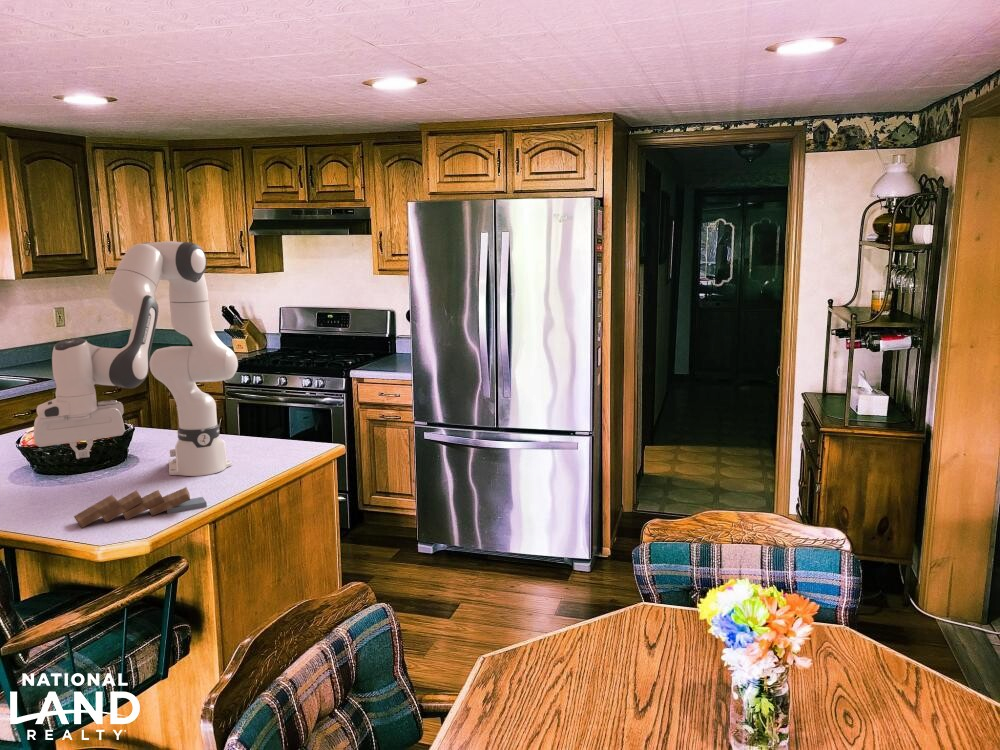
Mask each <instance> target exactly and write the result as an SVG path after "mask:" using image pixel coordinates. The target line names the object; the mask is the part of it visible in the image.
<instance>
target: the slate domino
mask: <svg viewBox="0 0 1000 750" xmlns="http://www.w3.org/2000/svg"><path fill="white" fill-rule="evenodd" d="M207 506H208V503H207V501H206V500H205V498H204V497H203V496H201V497H195V498H190V500H189V501H187V502H184V503H182V504H179V505H177V506H175V507H172V508H170V509H168V510H165V511H164V512H166V514H173V513H179V512H184V511H190V510H196V509H201V508H202V509H203V508H207Z"/></svg>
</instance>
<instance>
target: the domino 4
mask: <svg viewBox="0 0 1000 750" xmlns="http://www.w3.org/2000/svg"><path fill="white" fill-rule="evenodd" d="M190 496H191V495H190V492H189V490H188V488H187V486H185V487H183V488H181V489H179V490H176V491H173V492H171V493H169V494H167V495H164V496H162V498H163V500H164V502H162V503H160V504H158V505H156V506H154V507H152V508H150V509H148V511H149V512H150V514H151V515H150V516H152V517H153V516H156V515H159V514H161V513H162V512H166V511H165V510H168V509H170V508H172V507H175V506H177V505H179V504H182V503H184V502H187V501H189V500H190V499H191V497H190Z"/></svg>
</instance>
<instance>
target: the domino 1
mask: <svg viewBox="0 0 1000 750" xmlns="http://www.w3.org/2000/svg"><path fill="white" fill-rule="evenodd" d="M119 506H120V505H119V503H118V500H117V499H116V498H115V496H114V495H113V494H111V495H109V496H107V497H105V498H103V499H102V500H100V501H98V502H95V504H93V505H91V506H89V507H87V508H86V509H84V510H83V511H81V512H79V513H77V514H75V515H74V516H73V518H74V520H75V521H76V522H77V524H78V525H79V527H80V528H81V529H82V528H84V527H86V526H89V524H91V523H93V522H95V521H96V520H97V521H98V520H99V519H100V518H102V516H104V515H105V514H107V513H109V512H110V511H112V510H114V509H116V508H117V507H119Z"/></svg>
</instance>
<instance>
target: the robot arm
mask: <svg viewBox="0 0 1000 750" xmlns="http://www.w3.org/2000/svg"><path fill="white" fill-rule="evenodd" d="M207 260H208V259H207V256H206V253H205V251H204V250H203V249H202V247H201V246H200V245H199V244H197V243H194V242H189V241H185V242H184V241H183V242H182V241H175V240H165V241H157V242H156V241H155V242H148V241H147V242H143V243H142V242H141V243H135V244H134V245H131V246H130V247H129V249H128V250H127V251H126V252H125V254H124V255H123V256H122V258H121V260H120V262H119V263H118V265H117V267H116V269H115V270H114V274H113V276H112V277H111V279H110V283H109V286H108V294H109V297H110V299H111V301H112V302H113V303H114V305H115V306H116V307H117V308H119V309H120V310H122V312H124V313H126V314H128V315H130V316H132V318H133V321H132V326H131V329H130V334H129V338H128V342H127V344H126V345H125V346H123V347H122V348H112V347H103V346H101V347H100V346H97V345H94V344H91V343H90V342H88V341H87V340H86V339H85V338H81V337H76V338H75V337H74V338H67V339H64V340H61V341H59V342H57V343H56V344H54V346H53V350H52V354H51V355H52V356H51V363H52V364H51V365H52V366H51V367H52V374H53V375H52V376H53V377H52V378H53V379H54V381H55V384H56V385H55V386H56V388H55V398H54V399H50V400H48V401H46V402H44V403H43V402H42V403H40V404H38V405H37V407H36V414H37V416H36V417H35V420H34V423H33V441H34V444H35V446H37V447H39V448H42V447H43V448H44V447H49V446H57V445H64V444H69V446H70V448H71V449H72V450H73V451H74V453H75V457H76V459H77V460H78V459H79V460H80V459H84V458H85V459H86V458H90V450H91V449H92V447H93V445H94V440H98V439H106V438H112V437H120V436H123V435H124V433H125V432H126V429H125V423H124V419H123V414H124V411H125V410H124V405H123V403H122V402H120V401H119V400H118V401H117V400H116V399H112V400H111V399H110V400H103V401H98V400H97V393H96V392H97V391H96V388H95V385H101V386H113V387H117V388H123V389H135V388H137V387H139V386H140V385H141V384H142V383H143V382H144V381H145V380H146V378H148V374H149V369H150V373H151V374H152V376H153V377H154V378H155V379H156V380H157V381H159V382H160V383H161V384H163V385H164V386H166V388H167V389H168V390H169V392H170V393H171V395H172V397H173V399H174V401H175V405H176V409H177V416H178V427H177V438H178V439H177V441H176V444H175V445H174V448H173V449H169V457H171V458H172V459H169V460H168V475H170V476H186V477H197V476H198V477H200V476H201V477H202V476H208V475H213V474H216V473H219V472H220V473H221V472H222V471H224V470H226V469H227V468H228V467H229V468H230V467H231V466H233V462H232V461H230V460H228V458H227V450H226V449H227V448H226V441H225V440H224V439H222V438H221V437H220V425H219V424H218V417H217V403H216V401H215V399H214V398H213V397H212V395H210V394H209V393H206V392H204V391H202V390H201V389H200V388H199V387H198V386H197V384H196V383H216V382H222V381H226V380H230V379H232V378H233V377H234V376H235V374H236V373H237V371H238V368H239V362H238V361H239V360H238V357H237V355H236V354H235V352H234V351H233V349H232V348H230V347H229V346H227V345H226V344H225V343H224V342H223V341H222V340H220V338H219V337H218V335H217V333H216V332H215V329H214V327H213V323H212V318H211V310H210V299H209V291H208V290H209V289H208V284H207V280H206V276H205V272H206V269H207ZM160 281H168V283H169V287H168V293H169V295H168V296H169V298H168V300H169V308H170V309H169V311H170V321H171V322H170V324H171V326H172V328H173V329H174V330H175V331H176V332H177V333H179V334H180V335H183V336H185V337H187V338H188V339H189V341H190V342H191V344H192V345H186V346H183V345H178V346H177V345H176V346H175V345H173V346H167V347H162V348H161V347H160V348H158V349H155V350H154V351H153V353H152V355H151V356H150V354H151V351H152V345H153V340H154V337H155V331H156V326H157V321H158V319H159V318H158V316H159V304H158V302H157V300H156V299H155V293H156V290H157V288H158V285H159V283H160ZM84 441H85V442H86V447H85V448H84V449H78V448H77V446H78V445H77V442H78V443H79V442H84Z"/></svg>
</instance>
